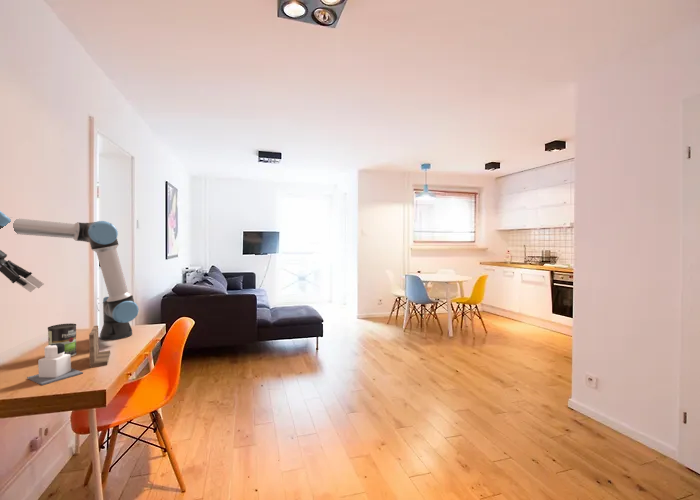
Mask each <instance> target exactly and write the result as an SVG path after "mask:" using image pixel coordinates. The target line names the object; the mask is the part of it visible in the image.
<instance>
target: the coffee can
mask: <svg viewBox="0 0 700 500" xmlns="http://www.w3.org/2000/svg"><path fill="white" fill-rule="evenodd" d="M47 334H48V335H47V336H48V342H47V343H48V345H50V344H56V343H62V344H64V345H65V353H64V354H71V357H74V356H75V355H77V354H78V353H77V324H76V323H60V324H55V325H50V326H48V327H47ZM48 345H47V346H48Z"/></svg>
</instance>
